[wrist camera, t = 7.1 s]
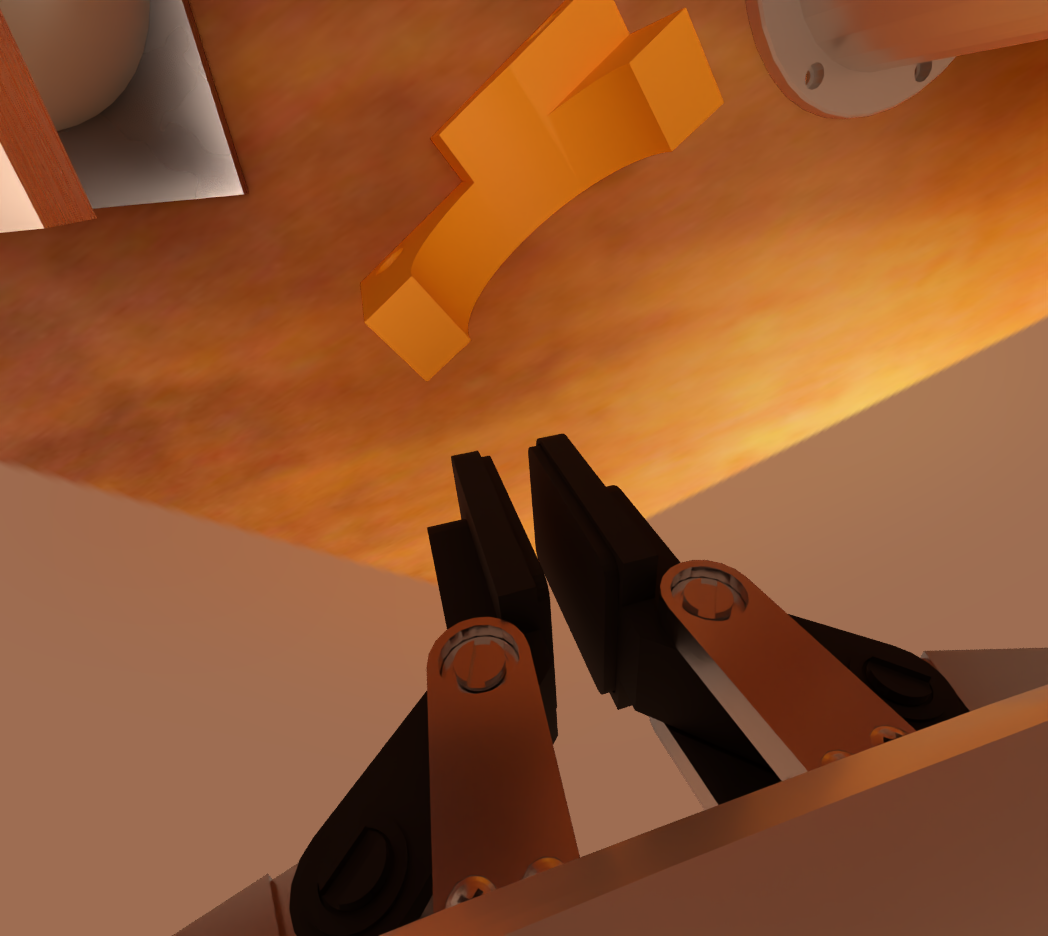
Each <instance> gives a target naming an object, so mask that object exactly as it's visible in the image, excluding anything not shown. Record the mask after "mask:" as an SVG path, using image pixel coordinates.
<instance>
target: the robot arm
mask: <svg viewBox="0 0 1048 936" xmlns="http://www.w3.org/2000/svg"><path fill="white" fill-rule="evenodd" d="M746 9H747V14H748V18H749V22H750V26H751V30H752V34H753V37H754V41H755V45H756V47H757V50H758V52H759V54H760V57H761V59H762V61H763V63H764V65H765V67H766V69H767V71H768V73H769V75H770V76H771V78H772V79H773V80H774V82H775V83H776V84H777V86H778V87H779V88H780V90H781V91H782V92H783V93H784V95H785V96H786V97H788V98H789V99H790V100H791V101H793V102H794V103H795V104H797V105H798V106H799V107H801V108H802V109H804V110H806V111H808V112H810V113H813V114H816V115H818V116H821V117H825V118H836V119H849V118H856V117H864V116H871V115H874V114H877V113H880V112H883V111H886V110H889V109H892V108H894V107H896V106H897V105H899V104H901V103H902V102H904V101H906V100H908V99H909V98H911V97H913V96H914V95H916V94H917V93H919V92H920V91H921V90H922V89H923V88H925V87H926V86H927V85H928V84H929V83H930V82H932V81H933V80H934V79H935V78H936V77H938V76H939V75H940V74H941V73H942V72H943V71H944V70H945V69H946V67H947V66H948V65H949V64H950V63H951V62H952V61H953V60H954V59H955V57H956V56H959V55H965V54H970V53H975V52H981V51H986V50H991V49H997V48H1002V47H1007V46H1012V45H1018V44H1023V43H1028V42H1034V41H1039V40H1044V39H1048V0H746ZM806 74H807V80H806V83H805V76H806ZM528 456H529V469H530V482H531V494H532V507H533V519H534V532H535V544H536V552H537V556H536V554H535V552H534V550H533V548H532V545H531V543H530V541H529V539H528V537H527V535H526V532H525V530H524V528H523V526H522V524H521V522H520V519H519V517H518V515H517V513H516V511H515V509H514V506H513V504H512V502H511V500H510V498H509V496H508V493H507V491H506V489H505V487H504V485H503V483H502V480H501V478H500V476H499V474H498V472H497V469H496V467H495V465H494V463H493V461H492V459H491V457H490V456H485V457H481V456H480V453H479V452H478V451H474V452H469V453H464V454H459V455H454V456H451V460H452V467H453V473H454V478H455V484H456V490H457V496H458V502H459V507H460V513H461V519H462V520H458V521H453V522H449V523H445V524H440V525H436V526H431V527H427V529H428V535H429V540H430V545H431V550H432V555H433V560H434V565H435V570H436V575H437V580H438V586H439V591H440V596H441V601H442V606H443V611H444V616H445V621H446V626H447V630H446V631H445V632H444V633H443V634H442V635H441V636H440V637H439V638H438V639H437V640H436V641H435V643H434V645H433V647H432V649H431V651H430V653H429V656H428V662H427V691H426V692H425V694H424V695H423V696H422V698H421V699H420V700H419V702H418V703H417V704H416V705H415V707H414V708H413V709H412V711H411V712H410V713H409V715H408V716H407V717H406V718H405V720H404V721H403V722H402V723H401V725H400V726H399V727H398V729H397V730H396V731H395V733H394V734H393V735H392V737H391V738H390V739H389V740H388V742H387V743H386V744H385V745H384V747H383V748H382V749H381V751H380V752H379V753H378V755H377V756H376V757H375V759H374V760H373V761H372V762H371V764H370V765H369V766H368V767H367V769H366V770H365V771H364V773H363V774H362V775H361V777H360V778H359V779H358V780H357V782H356V783H355V784H354V786H353V787H352V788H351V789H350V791H349V792H348V793H347V795H346V796H345V797H344V799H343V800H342V801H341V802H340V804H339V805H338V806H337V808H336V809H335V810H334V812H333V813H332V814H331V815H330V817H329V818H328V819H327V821H326V822H325V823H324V824H323V826H322V827H321V828H320V830H319V831H318V832H317V834H316V835H315V836H314V837H313V839H312V841H311V842H310V844H309V845H308V847H307V849H306V850H305V852H304V854H303V855H302V857H301V858H300V860H299V863H298V864H296V865H294V866H293V867H291V868H290V869H288V870H287V871H285V872H284V873H282V874H281V875H279V876H278V877H276V878H274V879H272V878H271V877H270V876H269V874H266V875H265V876H263V877H262V878H260V879H259V880H257V881H256V882H254V883H252V884H251V885H249V886H248V887H246V888H245V889H243V890H242V891H240V892H239V893H237V894H235V895H234V896H233V897H231V898H229V899H228V900H226V901H225V902H223V903H222V904H220V905H219V906H217V907H216V908H214V909H213V910H211V911H209V912H208V913H206V914H205V915H203V916H202V917H200V918H199V919H197V920H195V921H194V922H192V923H191V924H189V925H188V926H186V927H185V928H183V929H182V930H180V931H179V932H177V933H176V934H174V935H172V936H1048V648H1022V649H1021V648H1020V649H984V650H983V649H982V650H946V651H945V650H944V651H924V652H923V654H922V655H921V657H920V658H919V657H918V656H916V655H914V654H913V653H911V652H908V651H906V650H903V649H901V648H898V647H896V646H893V645H890V644H886V643H883V642H880V641H876V640H873V639H870V638H866V637H863V636H860V635H856V634H853V633H850V632H846V631H843V630H839V629H836V628H833V627H830V626H826V625H823V624H820V623H816V622H813V621H810V620H806V619H803V618H800V617H796V616H793V615H790V614H787V613H786V612H785V611H784V610H782V609H781V608H780V607H779V606H778V605H777V604H776V603H775V602H774V601H773V600H771V599H770V598H769V597H768V596H767V595H766V594H765V593H763V591H761V590H760V589H759V588H758V587H757V586H756V585H755V584H754V583H753V582H751V581H750V580H749V579H748V578H747V577H746V576H744V575H743V574H741V573H740V572H738V571H737V570H736V569H734V568H731V567H729V566H726V565H724V564H722V563H718V562H713V561H708V560H691V561H686V562H682V563H680V561H679V560H678V559H677V558H676V557H675V556H674V554H673V553H672V552H671V551H670V549H669V548H668V547H667V546H666V544H665V543H664V542H663V541H662V539H661V538H660V537H659V536H658V534H657V533H656V532H655V531H654V530H653V529H652V527H651V526H650V525H649V523H648V522H647V521H646V520H645V518H644V517H643V516H642V515H641V514H640V512H639V511H638V510H637V509H636V507H635V506H634V505H633V504H632V503H631V501H630V500H629V499H628V498H627V496H626V495H625V494H624V493H623V492H622V490H621V489H620V488H619V487H617V486H615V485H612V486H607V487H606V486H605V485H604V484H603V483H602V481H601V480H600V479H599V477H598V476H597V475H596V474H595V472H594V471H593V470H592V468H591V467H590V466H589V465H588V463H587V462H586V461H585V459H584V458H583V457H582V456H581V454H580V453H579V452H578V450H577V449H576V448H575V446H574V445H573V444H572V443H571V441H570V440H569V439H568V437H567V436H566V435H565V434H558V435H553V436H548V437H543V438H538V439H537V441H536V446H534V447H529V450H528ZM537 557H538V558H537ZM538 560H539V561H538ZM544 574H545V575H544ZM545 576H546V578H547V581H548V582H549V585H550V587H551V589H552V592H553V594H554V596H555V598H556V600H557V602H558V604H559V607H560V609H561V611H562V613H563V615H564V618H565V620H566V622H567V624H568V626H569V628H570V631H571V633H572V635H573V637H574V639H575V641H576V643H577V646H578V648H579V650H580V652H581V654H582V657H583V659H584V661H585V663H586V665H587V667H588V670H589V672H590V674H591V676H592V678H593V680H594V682H595V684H596V687H597V689H598V690H599V692H600V694H605V693H608V692H609V693H610V694H611V697H612V699H613V700H614V703H615V705H616V707H617V709H618V710H619V709H622V708H625V707H628V706H631V705H633V707H634V709H635V710H636V711H638V712H640V713H643V714H645V715H647V716H649V718H650V722H651V725H652V727H653V729H654V731H655V733H656V735H657V736H658V738H659V739H660V741H661V743H662V744H663V746H664V747H665V749H666V750H667V752H668V754H669V755H670V757H671V758H672V760H673V761H674V763H675V764H676V766H677V768H678V769H679V771H680V772H681V774H682V775H683V777H684V779H685V780H686V782H687V783H688V785H689V786H690V788H691V789H692V791H693V793H694V794H695V796H696V797H697V799H698V801H699V802H700V804H701V805H702V807H703V808H704V811H702V812H700V813H697V814H694V815H691V816H688V817H686V818H683V819H681V820H678V821H676V822H673V823H670V824H667V825H665V826H662V827H659V828H657V829H654V830H651V831H649V832H646V833H643V834H641V835H638V836H636V837H633V838H630V839H628V840H625V841H622V842H620V843H617V844H615V845H612V846H609V847H607V848H604V849H601V850H599V851H596V852H593V853H591V854H588V855H586V856H583V857H581V858H580V855H579V851H578V847H577V843H576V839H575V835H574V830H573V826H572V822H571V818H570V814H569V809H568V806H567V801H566V798H565V793H564V789H563V785H562V780H561V776H560V772H559V768H558V764H557V759H556V755H555V751H554V748H553V744H554V742H555V740H556V738H557V736H558V729H557V714H556V708H557V701H556V685H555V669H554V654H553V640H552V624H551V609H550V597H549V590H548V585H547V581H546V578H545Z"/></svg>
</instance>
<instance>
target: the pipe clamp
mask: <svg viewBox="0 0 1048 936" xmlns="http://www.w3.org/2000/svg"><path fill="white" fill-rule="evenodd" d="M723 103H724V101H723V99H722V96H721V94H720V91H719V89H718V86H717V84H716V81H715V79H714V76H713V74H712V71H711V69H710V66H709V64H708V61H707V59H706V56H705V54H704V51H703V49H702V46H701V44H700V42H699V39H698V37H697V34H696V32H695V29H694V27H693V24H692V22H691V19H690V17H689V14H688V12H687V9H686V7H685V8H683V9H681V10H679V11H677V12H675V13H673V14H671V15H669V16H667V17H665V18H663V19H660V20H658V21H656V22H654V23H652V24H650V25H648V26H646V27H644V28H642V29H640V30H638V31H636V32H634V33H631V34H629V32H628V30H627V28H626V25H625V23H624V21H623V19H622V17H621V15H620V13H619V11H618V8H617V6H616V4H615V2H614V0H565V1H564V2H563V3H562V4H561V5H560V6H559V7H558V8H557V9H556V10H555V11H554V12H553V13H552V14H551V15H550V16H549V17H548V18H547V19H546V20H545V21H544V22H543V23H542V24H541V25H540V26H539V27H538V29H537V30H536V31H535V32H534V33H533V34H532V35H531V36H530V37H529V38H528V39H527V40H526V41H525V42H524V43H523V44H522V45H521V46H520V47H519V48H518V49H517V50H516V51H515V52H514V53H513V54H512V55H511V56H510V57H509V58H508V59H507V60H506V61H505V62H504V63H503V64H502V65H501V66H500V67H499V68H498V69H497V70H496V71H495V72H494V73H493V75H492V76H491V77H490V78H489V79H488V80H487V81H486V82H485V83H484V84H483V85H482V86H481V87H480V88H479V89H478V90H477V91H476V92H475V93H474V94H473V95H472V96H471V97H470V98H469V99H468V100H467V101H466V102H465V103H464V104H463V105H462V106H461V107H460V108H459V109H458V110H457V111H456V112H455V113H454V114H453V115H452V116H451V117H450V118H449V119H448V121H447V122H446V123H445V124H444V125H443V126H442V127H441V128H440V129H439V130H438V131H437V132H436V133H435V134H434V135H433V136H432V137H431V138H430V139H431V141H432V142H433V143H434V145H435V146H436V147H437V149H438V150H439V151H440V153H441V154H442V155H443V157H444V158H445V159H446V161H447V162H448V163H449V164H450V166H451V167H452V168H453V170H454V171H455V172H456V174H457V175H458V176H459V178H460V179H461V180H462V182H461V183H460V184H459V185H458V186H457V187H456V188H455V189H454V190H453V191H452V192H451V193H450V194H449V195H448V196H447V197H446V198H445V199H444V200H443V201H442V202H441V203H440V204H439V205H438V206H437V207H436V208H435V209H434V210H433V211H432V212H431V213H430V214H429V215H428V216H427V217H426V218H425V219H424V220H423V221H422V222H421V223H420V224H419V225H418V226H417V227H416V228H415V229H414V230H413V231H412V232H411V233H410V234H409V235H408V236H407V237H406V238H405V239H404V240H403V241H402V242H401V243H400V244H399V245H398V246H397V247H396V248H395V249H394V250H393V251H392V252H391V253H390V254H389V255H388V256H387V257H386V258H385V259H384V260H383V261H382V262H381V263H380V264H379V265H378V266H377V267H376V268H375V269H374V270H373V271H372V272H371V273H370V274H369V275H368V276H367V277H366V278H365V279H364V280H363V281H362V282H361V283H360V287H361V296H362V305H363V315H364V323H365V324H366V325H367V326H368V327H369V328H370V329H372V330H373V331H374V332H375V333H376V334H377V335H378V336H379V337H380V338H381V339H382V340H383V341H384V342H385V343H386V344H387V345H388V346H389V347H390V348H392V349H393V350H394V351H395V352H396V353H397V354H398V355H399V356H400V357H401V358H402V359H403V360H404V361H405V362H406V363H407V364H408V365H409V366H410V367H412V368H413V369H414V370H415V371H416V372H417V373H418V374H419V375H420V376H421V377H422V378H423V379H424V380H425V381H426V382H428V381H429V380H430V379H431V378H432V377H433V376H434V375H435V374H436V373H437V372H438V371H439V370H440V369H441V368H442V367H443V366H445V365H446V364H447V363H448V362H449V361H450V360H451V359H452V358H453V357H454V356H455V355H456V354H457V353H458V352H459V351H460V350H462V349H463V348H464V347H465V346H466V345H467V344H468V343H469V342H470V341H471V339H470V337H469V334H468V323H469V318H470V315H471V312H472V310H473V307H474V305H475V303H476V301H477V299H478V297H479V296H480V294H481V292H482V291H483V289H484V287H485V286H486V284H487V283H488V281H489V280H490V279H491V277H492V276H493V275H494V273H495V272H496V271H497V270H498V268H499V267H500V266H501V265H502V263H503V262H504V261H505V260H506V259H507V258H508V257H509V255H510V254H511V253H512V252H513V251H514V250H515V249H516V248H517V247H518V246H519V245H520V244H521V243H522V242H523V241H524V240H525V239H526V238H527V237H528V236H529V235H530V234H531V233H532V232H533V231H534V230H535V229H536V228H538V227H539V226H540V225H541V224H542V223H543V222H544V221H545V220H547V219H548V218H549V217H550V216H551V215H552V214H554V213H555V212H556V211H557V210H559V209H560V208H561V207H562V206H564V205H565V204H566V203H568V202H569V201H570V200H572V199H573V198H574V197H576V196H577V195H579V194H580V193H581V192H583V191H584V190H586V189H587V188H589V187H590V186H592V185H593V184H595V183H596V182H598V181H600V180H601V179H603V178H605V177H606V176H608V175H610V174H612V173H613V172H615V171H617V170H619V169H621V168H623V167H625V166H627V165H629V164H631V163H634V162H636V161H638V160H641V159H643V158H646V157H649V156H652V155H656V154H660V153H664V152H672V151H673V150H674V149H675V148H676V147H677V146H678V145H680V144H681V143H682V142H683V141H684V140H685V139H686V138H687V137H688V136H689V135H690V134H691V133H692V132H693V131H694V130H695V129H697V128H698V127H699V126H700V125H701V124H702V123H703V122H704V121H705V120H706V119H707V118H708V117H709V116H710V115H711V114H713V113H714V112H715V111H716V110H717V109H718V108H719V107H720V106H721V105H722V104H723Z"/></svg>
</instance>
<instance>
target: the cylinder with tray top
mask: <svg viewBox="0 0 1048 936" xmlns="http://www.w3.org/2000/svg"><path fill="white" fill-rule="evenodd" d="M243 194H248V189H247V186H246V183H245V180H244V177H243V174H242V170H241V167H240V164H239V161H238V158H237V154H236V151H235V148H234V145H233V142H232V139H231V135H230V132H229V129H228V126H227V123H226V119H225V116H224V113H223V110H222V107H221V104H220V100H219V97H218V94H217V91H216V88H215V85H214V81H213V78H212V75H211V72H210V69H209V65H208V62H207V59H206V56H205V53H204V50H203V46H202V43H201V40H200V37H199V34H198V30H197V27H196V24H195V21H194V18H193V15H192V11H191V8H190V5H189V2H188V0H0V233H2V232H12V231H23V230H33V229H43V228H49V227H54V226H59V225H65V224H70V223H75V222H81V221H86V220H91V219H96V218H97V217H96V215H95V213H94V211H93V209H94V208H104V207H115V206H126V205H136V204H147V203H158V202H168V201H179V200H190V199H200V198H211V197H222V196H232V195H243Z"/></svg>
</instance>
